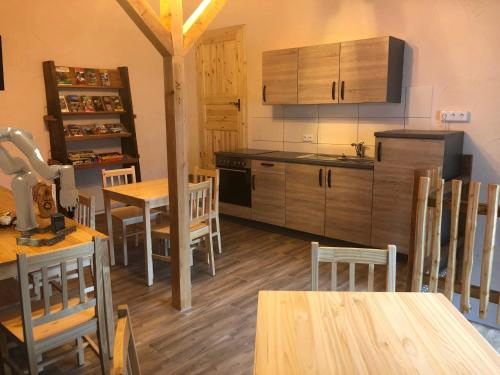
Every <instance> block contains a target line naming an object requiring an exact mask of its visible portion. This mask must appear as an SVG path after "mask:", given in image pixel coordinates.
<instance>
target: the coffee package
mask: <svg viewBox="0 0 500 375" xmlns="http://www.w3.org/2000/svg"><path fill="white" fill-rule="evenodd" d="M39 184H40V187H39V189H38V191H37V207H38V213H39V215H40V216H41V217H42V219H47V218H48V219H50V214H55V213H57V208H56V203H55V202H56V201H55V199H54V197H53V194H52V192H51V190H50V188H49V187H48V186H47V182H45V181H43V180H41V181H40V182H39Z"/></svg>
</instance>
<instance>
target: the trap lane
mask: <svg viewBox="0 0 500 375" xmlns="http://www.w3.org/2000/svg"><path fill="white" fill-rule="evenodd" d="M65 228H66V229H63V230H61V231H59V232H56V235H55V236H52V237H50V238H45V237H43V238H40V239H37V238H32V237H31V236H35V235H36V234H37V235H38V234H39V235H40V234H41V235H45V234H47V233H49V232H52V228H51V223H50V224H47V225H45V226H43V227H42V226H39V227H34V228H32V229H29V230H26V231H20V236H19V235H18V236H17V237H15V242H16V245H19V246H21V245H22V246H29V247H37V248H41V247H44V246H45V247H46V246H48V247H51V246H53V245H56V244H58V243H60V242H62V241H65V240H66V236H68V235H71V234H73V233H75V232H76V231H77V226H76V224H74V225H73V224H72V225H71V226H68V227H65ZM74 231H75V232H74ZM72 232H73V233H72ZM70 233H71V234H70Z"/></svg>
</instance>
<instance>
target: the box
mask: <svg viewBox="0 0 500 375" xmlns="http://www.w3.org/2000/svg"><path fill="white" fill-rule="evenodd" d="M65 218H66V217H65V215H64V214H63V213H61V212H56V213H55V214H50V218H49V219H50V224H51V228H52V231H51V233H53V234H54V235H55V236H56V232H59V231H61V230H63V229H66V228H67V227H66V221H65V220H66V219H65Z"/></svg>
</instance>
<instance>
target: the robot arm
mask: <svg viewBox="0 0 500 375" xmlns="http://www.w3.org/2000/svg"><path fill="white" fill-rule="evenodd" d="M33 139H34V135H33V133H32V132H31V131H30V130H28V129H26V128H18V127H11V126H0V170H1V171H2V172H3V174H4V175H6V176H13V178H12V179H11V182H10V188H11V191H12V192H11V193H12V195H13V200H14V206H15V207H14V208H15V214H16V219H15V220H14V221H13V222H12V224H13V225H15V227H14V230H15V231H17V232H24V231H26V230H29V229H32V228H34V227H40V224H39V223H38V222H37V221H36V220H37V218H36V212H35V205H34V197H33V193H32V191H31V189H32V188H34V187H35V186H37V184H38V177H37V175H36V174H38V175H39V176H40V177H41V178H42V179H43V180H45V181H52V180H55V179H57V178H59V180H60V181H59V182H60V185H59V187H60V190H59V202H60V203H59V204H60V206H62V208H64V209H66V211H67V214H68V215H67V216H68V218H69V219H73V218H75V217H76V216H75V210H76V209H78V208H80V206H79V205H80V197H79V194H78V190H77V188H76V181H75V169H74V166H73V165H71V164H65V165H63V164H62V165H60V164H52V165H49V164H48V163H46V161H45V160H44V159H43V157H42V149H41V148H40V146H38V145H37V143H35V142H34V141H33ZM6 142H7V143H12V144H13V145H14V147H16V148H17V150H19V151H20V152H21V153H22V154H23V155H24V156H25V157H26V158H27V160H28V162H29V164H30V165H29V164H28V162H27V161H26V160H25V159H23V158H22V157H20V156H12V155H11V154H10V152H9V151H8V149H7V148H6V147H5V146H3V145H2V144H1V143H6ZM30 166H31V167H32V168H31V167H30ZM34 171H35V172H36V174H35V172H34ZM14 175H15V176H14Z"/></svg>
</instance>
